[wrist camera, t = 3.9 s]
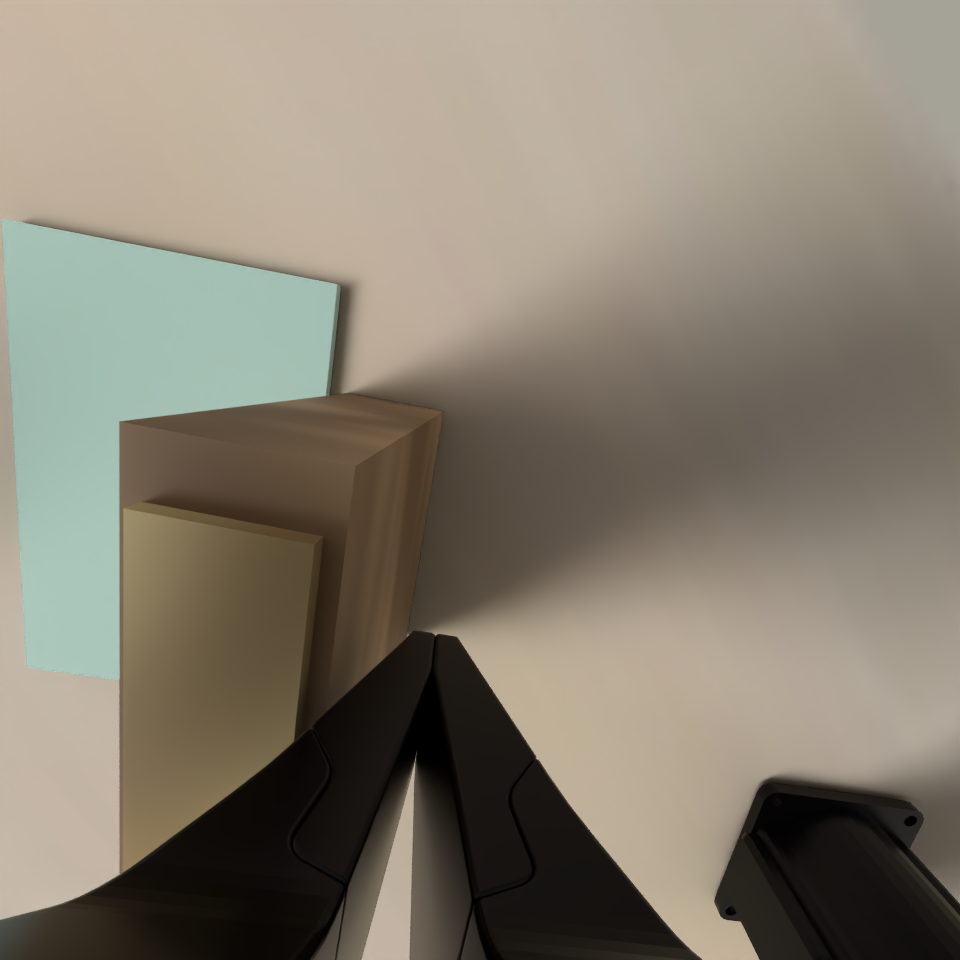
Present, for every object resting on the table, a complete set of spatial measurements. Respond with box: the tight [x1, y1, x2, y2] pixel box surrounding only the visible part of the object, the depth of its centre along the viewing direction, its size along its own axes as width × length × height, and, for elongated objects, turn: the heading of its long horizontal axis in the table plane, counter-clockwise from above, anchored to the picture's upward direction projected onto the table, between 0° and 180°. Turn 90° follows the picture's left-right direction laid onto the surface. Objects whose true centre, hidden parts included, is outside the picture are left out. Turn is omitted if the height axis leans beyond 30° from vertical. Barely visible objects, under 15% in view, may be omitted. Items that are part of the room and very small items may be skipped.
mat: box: [2, 219, 341, 680], centre depth 14 cm, size 9×14×1 cm, turn 170°
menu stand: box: [119, 393, 443, 874], centre depth 11 cm, size 3×8×9 cm, turn 170°
